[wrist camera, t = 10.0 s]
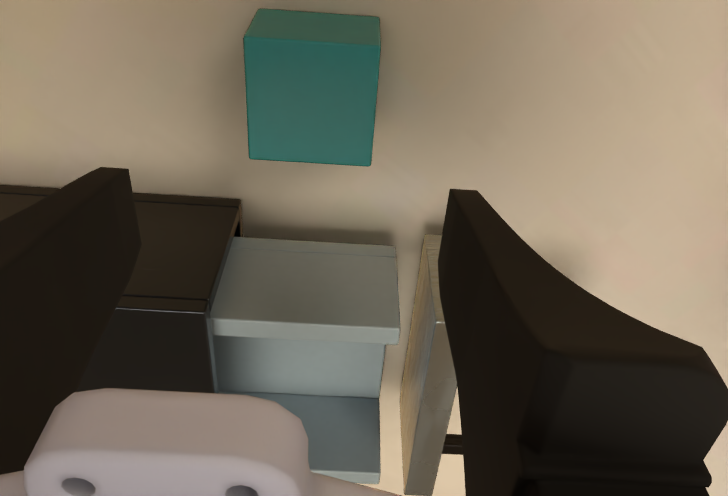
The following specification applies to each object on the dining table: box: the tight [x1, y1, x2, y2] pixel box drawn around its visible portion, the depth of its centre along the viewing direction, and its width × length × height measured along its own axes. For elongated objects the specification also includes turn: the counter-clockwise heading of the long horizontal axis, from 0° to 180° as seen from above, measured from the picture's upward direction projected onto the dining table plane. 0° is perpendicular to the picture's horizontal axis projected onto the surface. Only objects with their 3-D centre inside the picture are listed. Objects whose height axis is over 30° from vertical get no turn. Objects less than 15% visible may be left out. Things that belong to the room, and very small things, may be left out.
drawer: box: [210, 234, 463, 496], centre depth 25 cm, size 17×10×5 cm, turn 86°
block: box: [243, 9, 381, 166], centre depth 20 cm, size 4×4×3 cm
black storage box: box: [0, 185, 243, 394], centre depth 25 cm, size 13×11×7 cm
